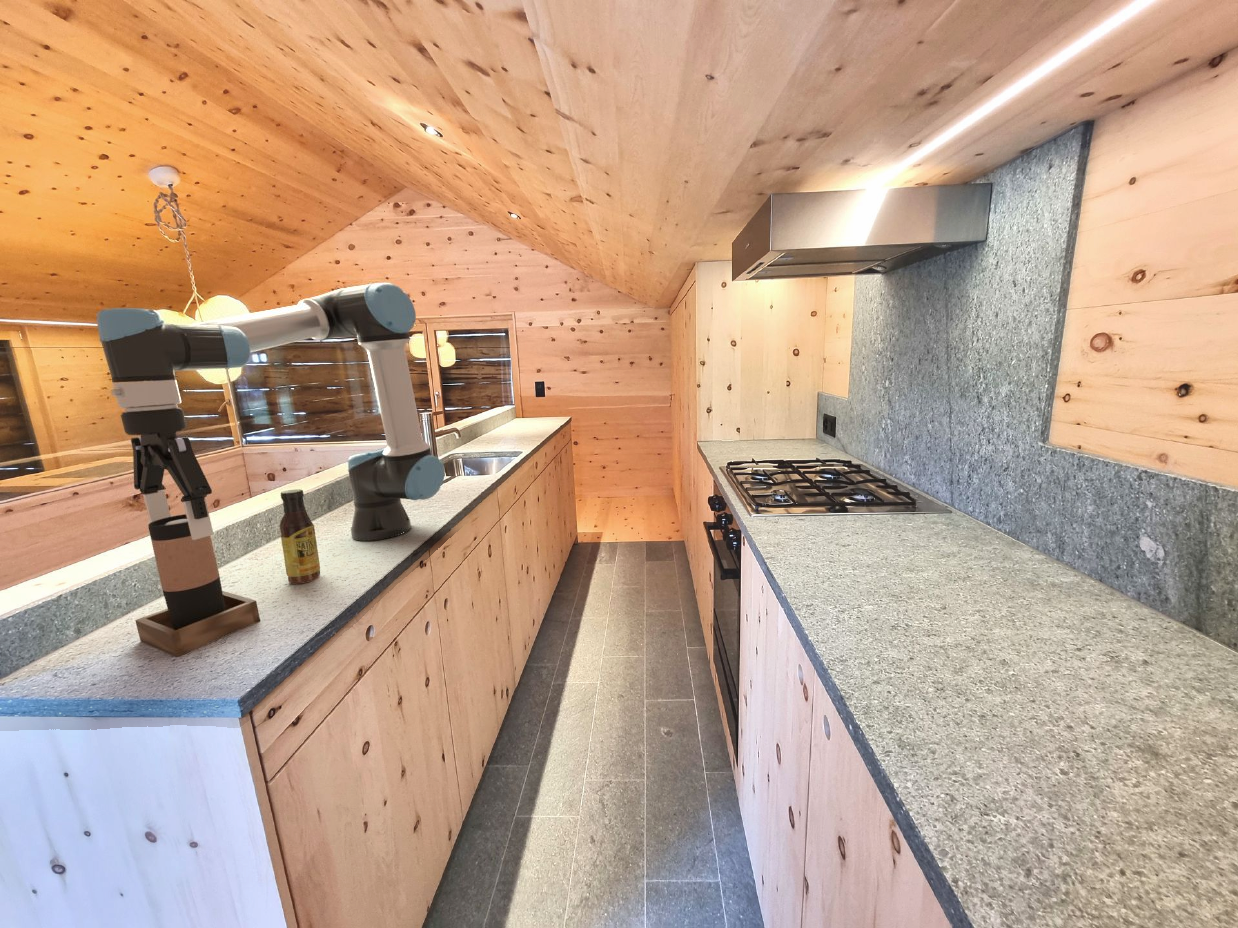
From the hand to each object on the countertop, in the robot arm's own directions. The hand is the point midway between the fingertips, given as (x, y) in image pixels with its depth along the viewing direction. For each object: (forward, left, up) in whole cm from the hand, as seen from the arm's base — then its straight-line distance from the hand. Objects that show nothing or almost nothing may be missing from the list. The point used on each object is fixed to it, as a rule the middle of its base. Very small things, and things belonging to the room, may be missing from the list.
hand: (182, 532), depth 85 cm
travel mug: (0, 0, -18) cm, 18 cm away
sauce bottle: (-21, -5, -18) cm, 28 cm away
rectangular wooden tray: (0, 0, -18) cm, 18 cm away
